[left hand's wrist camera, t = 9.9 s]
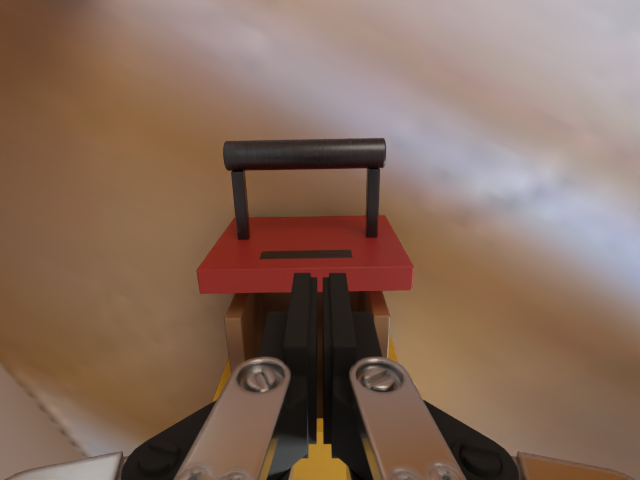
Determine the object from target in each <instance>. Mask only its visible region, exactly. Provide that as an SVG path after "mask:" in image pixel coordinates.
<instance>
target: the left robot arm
mask: <svg viewBox="0 0 640 480" xmlns="http://www.w3.org/2000/svg"><path fill="white" fill-rule="evenodd" d="M317 359H318V334H317V277H311V273H294V277H293V284H292V291H291V297H290V304H289V311H288V312H268V315H267V320H266V324H265V328H264V332H263V336H262V340H261V344H260V348H259V353H258V357H256V358H251V359H249V360H247V361H244V362H242V363H241V364H240V365H238V366H237V367H236V368H235V369H234V371H233V372H232V374H231V375H230V377H229V379H228V381H227V383H226V385H225V386H224V388H223V390H222V392H221V394H220V396H219V397H218V399H217V400H215V401H214V402H212V403H210V404H209V405H207V406H205V407H204V408H202V409H200V410H198V411H197V412H195V413H193V414H192V415H190V416H188V417H187V418H185V419H183V420H181V421H180V422H178V423H176V424H175V425H173V426H171V427H170V428H168V429H166V430H164V431H163V432H161V433H159V434H158V435H156V436H154V437H153V438H151V439H149V440H147V441H146V442H144V443H143V444H142V445H140V446H139V447H138V448H136V449H135V450H134V451H133V452H132V454H131V455H130V456H127V457H123V453H122V452H116V453H111V454H106V455H101V456H95V457H90V458H85V459H80V460H75V461H69V462H64V463H59V464H54V465H49V466H44V467H38V468H33V469H29V470H25V471H22V472H19V473H16V474H14V475H12V476H10V477H9V478H7V479H5V480H293V477H294V464H295V463H296V462H298V461H299V460H300V459H301V458H308V452H309V444H317ZM322 359H323V444H331V452H332V458H339V459H340V460H341V461H342V462H344V463H345V464H346V477H347V480H635V479H633V478H631V477H630V476H628V475H626V474H624V473H621V472H618V471H615V470H612V469H607V468H602V467H597V466H592V465H586V464H581V463H576V462H571V461H565V460H560V459H555V458H550V457H545V456H539V455H534V454H529V453H524V452H518V453H517V457H513V456H510V455H509V454H508V452H507V451H506V450H505V449H504V448H502V447H501V446H500V445H498V444H497V443H496V442H494V441H493V440H491V439H489V438H487V437H486V436H484V435H482V434H481V433H479V432H477V431H476V430H474V429H472V428H470V427H469V426H467V425H465V424H464V423H462V422H460V421H459V420H457V419H455V418H453V417H452V416H450V415H448V414H447V413H445V412H443V411H442V410H440V409H438V408H436V407H435V406H433V405H431V404H430V403H428V402H426V401H425V400H423V399H422V397H421V396H420V394H419V392H418V390H417V388H416V386H415V385H414V383H413V381H412V379H411V377H410V375H409V374H408V372H407V371H406V369H405V368H404V367H403V366H402V365H400V364H399V363H398V362H396V361H393V360H391V359H389V358H384V357H382V353H381V348H380V344H379V340H378V336H377V332H376V328H375V324H374V320H373V315H372V312H352V311H351V304H350V297H349V291H348V284H347V277H346V273H329V277H323V334H322Z"/></svg>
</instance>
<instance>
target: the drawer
mask: <svg viewBox="0 0 640 480" xmlns="http://www.w3.org/2000/svg"><path fill="white" fill-rule="evenodd" d="M223 157H224V164H225V167H226V169H227V170H228V171H232V172H231V176H232V186H233V196H234V206H235V216H236V218H234V219H233V221H232V222H231V223H230V225H229V226H228V228H227V229H226V230H225V232H224V233H223V235H222V236H221V237H220V239H219V240H218V241H217V243H216V244H215V246H214V247H213V248H212V250H211V251H210V253H209V254H208V255H207V257H206V258H205V259H204V261H203V262H202V264H201V265H200V266H199V268H198V269H197V276H198V283H199V290H200V293H201V294H204V293H235V295H234V298H233V300H232V302H231V304H230V307H229V309H228V311H227V314H226V316H225V318H224V322H225V330H226V338H227V347H228V355H229V363H230V372H231V374H232V372H233V371H234V369H235V368H236V367H237V366H238V365H240V364H241V363H242V362H244V361H247V360H249V359H251V358H256V357H258V353H259V348H260V344H261V340H262V336H263V332H264V328H265V324H266V320H267V315H268V312H288V311H289V304H290V297H291V291H292V284H293V277H294V273H311V277H317V334H318V359H317V418H323V359H322V334H323V277H329V273H346V277H347V284H348V291H349V297H350V304H351V311H352V312H372V315H373V320H374V324H375V328H376V332H377V336H378V340H379V344H380V348H381V353H382V357H384V358H388V350H389V330H390V314H389V311H388V308H387V305H386V302H385V299H384V296H383V293H382V291H387V290H412V284H413V270H414V266H413V265H412V263H411V261H410V259H409V257H408V256H407V254H406V252H405V250H404V249H403V247H402V245H401V243H400V241H399V240H398V238H397V236H396V234H395V232H394V231H393V229H392V227H391V225H390V224H389V222H388V220H387V218H386V216H385V215H382V216H378V210H379V182H380V169H379V168H383V167H384V165H385V160H386V143H385V139H384V138H365V139H312V140H259V141H226V142H225V143H224V148H223ZM354 168H367V186H366V216H326V217H269V218H249V214H248V202H247V191H246V179H245V171H246V170H300V169H354Z"/></svg>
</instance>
